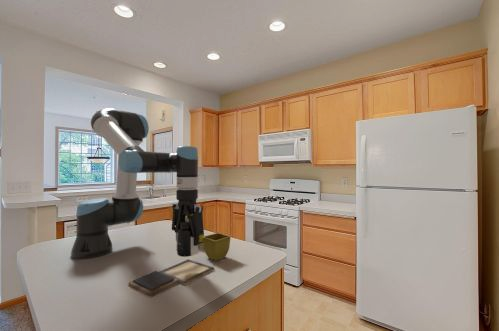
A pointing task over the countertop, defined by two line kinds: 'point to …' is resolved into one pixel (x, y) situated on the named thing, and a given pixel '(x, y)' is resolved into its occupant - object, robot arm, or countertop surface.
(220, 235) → the flower pot
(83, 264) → the countertop surface
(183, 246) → the supplement bottle
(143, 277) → the pad
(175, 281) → the ink tray
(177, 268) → the board
